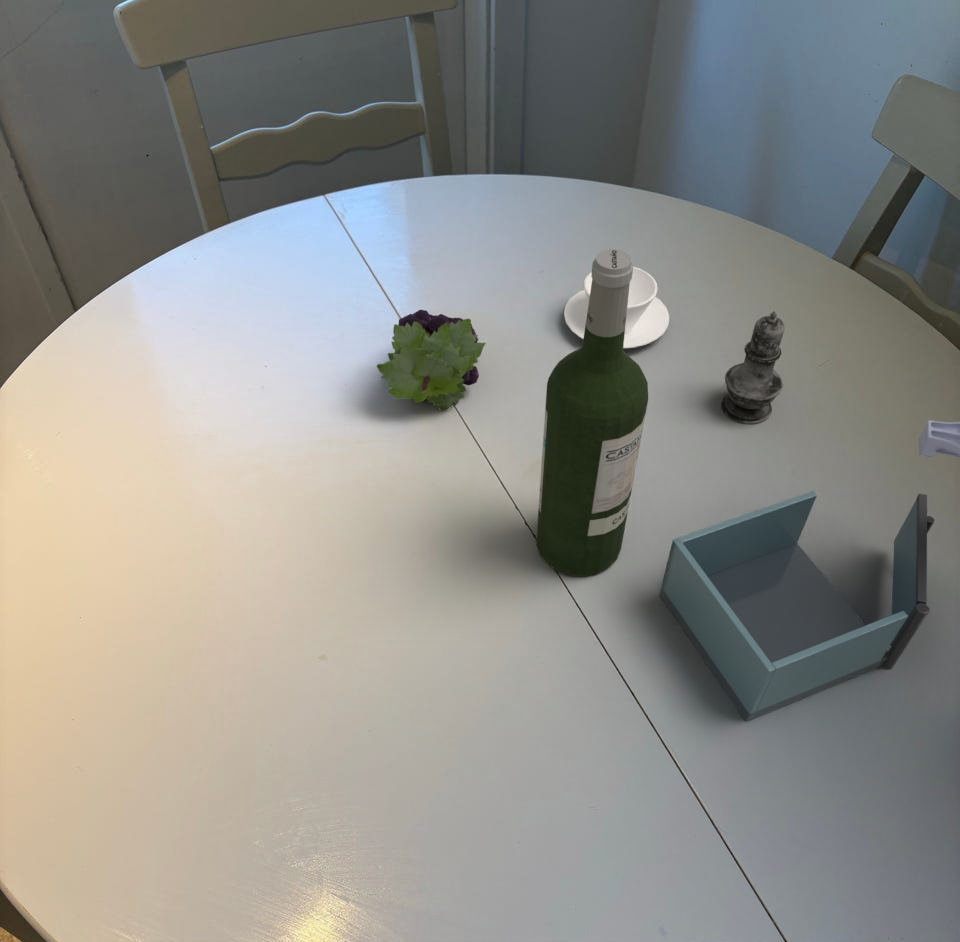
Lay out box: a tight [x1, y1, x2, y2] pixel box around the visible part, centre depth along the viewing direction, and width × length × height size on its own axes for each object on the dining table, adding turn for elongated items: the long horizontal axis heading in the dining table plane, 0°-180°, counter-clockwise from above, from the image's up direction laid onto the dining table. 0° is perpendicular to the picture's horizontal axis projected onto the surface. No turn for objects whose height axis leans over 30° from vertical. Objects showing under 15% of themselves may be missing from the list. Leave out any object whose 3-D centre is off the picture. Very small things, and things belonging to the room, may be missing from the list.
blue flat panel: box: [890, 493, 935, 647], centre depth 78 cm, size 12×2×6 cm, turn 163°
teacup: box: [563, 266, 670, 349], centre depth 104 cm, size 12×12×5 cm
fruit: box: [376, 309, 487, 412], centre depth 96 cm, size 10×11×15 cm
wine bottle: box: [535, 248, 649, 577], centre depth 74 cm, size 8×8×30 cm
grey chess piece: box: [720, 311, 786, 425], centre depth 92 cm, size 6×6×12 cm
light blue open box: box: [659, 490, 930, 722], centre depth 76 cm, size 14×14×8 cm
